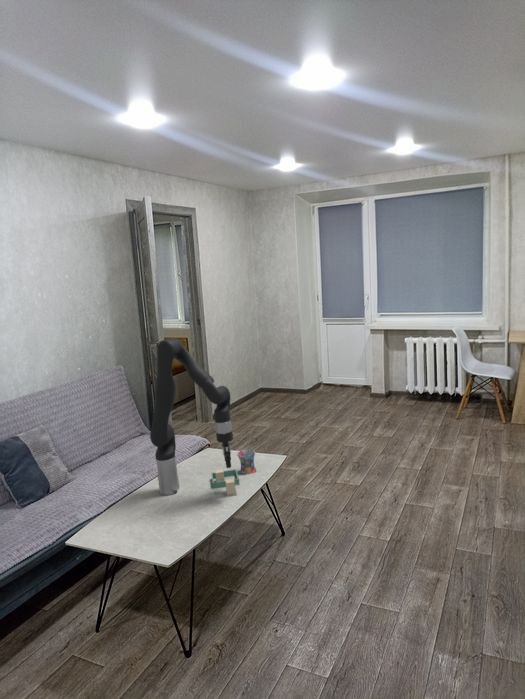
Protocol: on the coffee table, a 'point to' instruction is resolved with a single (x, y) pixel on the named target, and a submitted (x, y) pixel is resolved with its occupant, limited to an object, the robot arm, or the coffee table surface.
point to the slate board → (223, 494)
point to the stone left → (219, 475)
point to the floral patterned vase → (247, 461)
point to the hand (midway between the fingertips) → (228, 464)
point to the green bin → (226, 474)
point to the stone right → (230, 487)
